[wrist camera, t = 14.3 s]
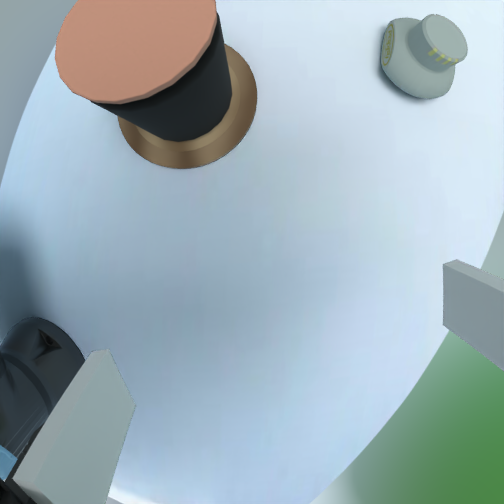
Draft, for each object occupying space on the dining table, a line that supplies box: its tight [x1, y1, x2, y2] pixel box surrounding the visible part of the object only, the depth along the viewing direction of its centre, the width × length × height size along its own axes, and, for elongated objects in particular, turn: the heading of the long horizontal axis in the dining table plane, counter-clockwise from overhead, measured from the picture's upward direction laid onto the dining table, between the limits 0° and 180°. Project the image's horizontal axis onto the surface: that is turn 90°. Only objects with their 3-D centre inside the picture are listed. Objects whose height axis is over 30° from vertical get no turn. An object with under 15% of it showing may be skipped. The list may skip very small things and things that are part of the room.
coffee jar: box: [55, 0, 232, 142], centre depth 23 cm, size 11×11×18 cm
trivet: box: [118, 44, 257, 169], centre depth 33 cm, size 16×16×1 cm
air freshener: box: [381, 14, 468, 99], centre depth 27 cm, size 11×8×10 cm
